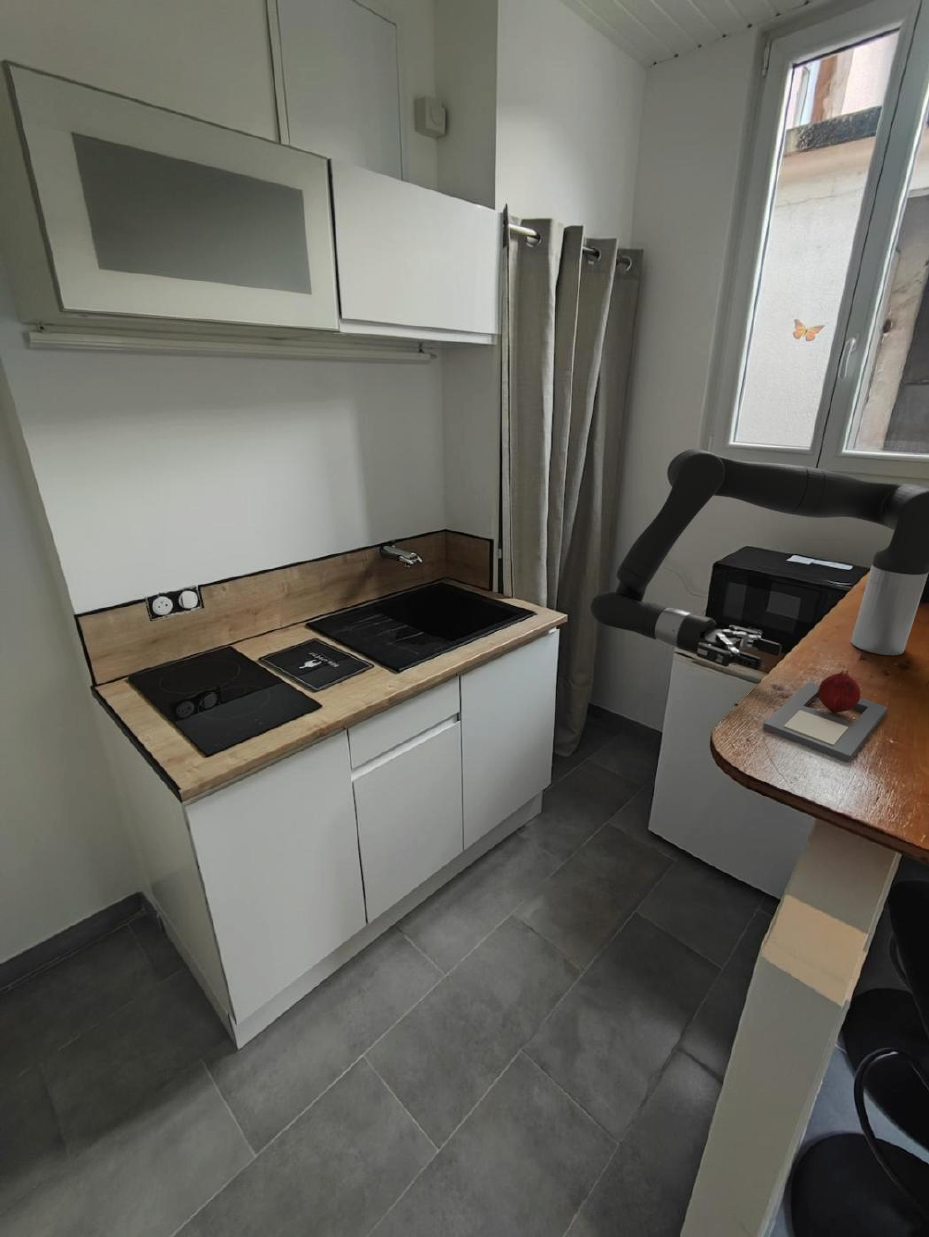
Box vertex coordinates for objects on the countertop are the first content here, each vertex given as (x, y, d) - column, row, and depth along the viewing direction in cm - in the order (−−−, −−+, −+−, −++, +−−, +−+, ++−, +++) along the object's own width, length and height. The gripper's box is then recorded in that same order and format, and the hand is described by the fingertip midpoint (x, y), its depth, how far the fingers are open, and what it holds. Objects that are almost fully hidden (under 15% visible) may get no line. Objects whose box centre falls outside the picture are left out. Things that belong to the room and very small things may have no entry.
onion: (860, 723, 92) (873, 679, 89) (821, 719, 93) (832, 676, 90) (845, 705, 97) (857, 663, 94) (808, 702, 98) (819, 660, 95)
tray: (807, 687, 103) (809, 681, 103) (885, 713, 95) (888, 706, 94) (762, 729, 91) (764, 721, 90) (848, 762, 82) (850, 754, 82)
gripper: (669, 622, 106) (758, 649, 95) (705, 604, 115) (790, 627, 104) (663, 658, 109) (750, 689, 97) (699, 638, 117) (782, 664, 106)
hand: (771, 657), depth 101 cm, fingers open, 8 cm apart
